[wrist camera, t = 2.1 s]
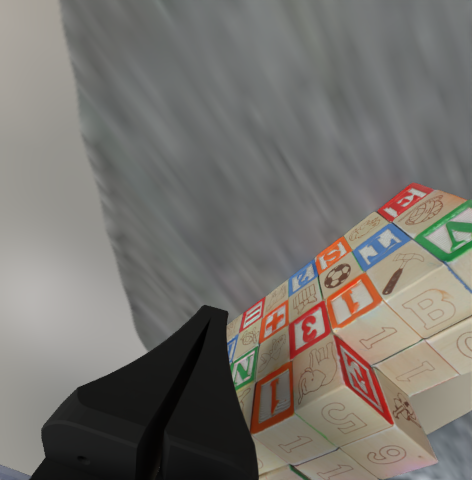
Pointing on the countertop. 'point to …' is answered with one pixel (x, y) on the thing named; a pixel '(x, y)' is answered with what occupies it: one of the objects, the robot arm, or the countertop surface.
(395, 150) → the countertop surface
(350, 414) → the stack of blocks
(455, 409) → the mat
